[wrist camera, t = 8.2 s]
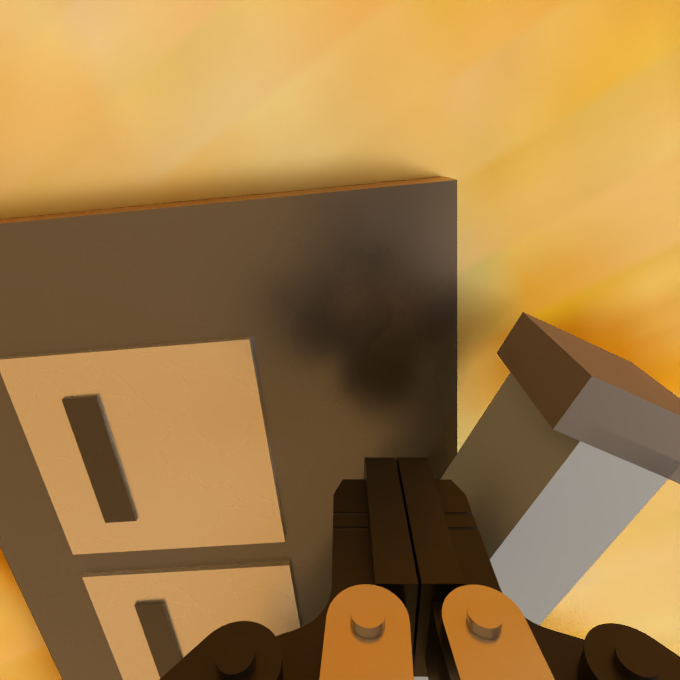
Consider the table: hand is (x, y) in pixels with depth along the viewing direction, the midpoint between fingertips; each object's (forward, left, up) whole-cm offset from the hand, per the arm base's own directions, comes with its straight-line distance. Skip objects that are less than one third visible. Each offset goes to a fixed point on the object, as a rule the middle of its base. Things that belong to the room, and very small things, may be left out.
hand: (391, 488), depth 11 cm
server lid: (+5, -5, -4) cm, 9 cm away
